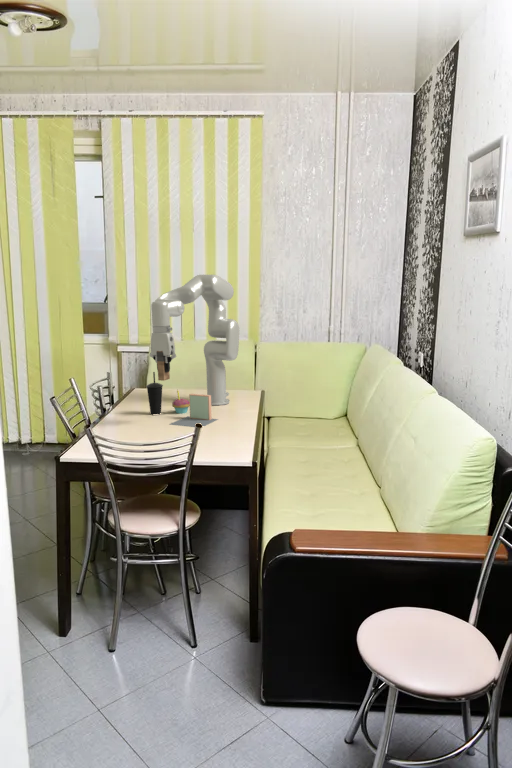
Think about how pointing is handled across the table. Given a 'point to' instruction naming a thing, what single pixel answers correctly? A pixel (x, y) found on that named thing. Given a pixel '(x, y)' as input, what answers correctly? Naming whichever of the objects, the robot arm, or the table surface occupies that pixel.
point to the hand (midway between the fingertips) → (163, 371)
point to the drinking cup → (155, 396)
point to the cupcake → (180, 405)
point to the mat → (192, 422)
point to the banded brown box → (161, 367)
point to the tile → (200, 406)
